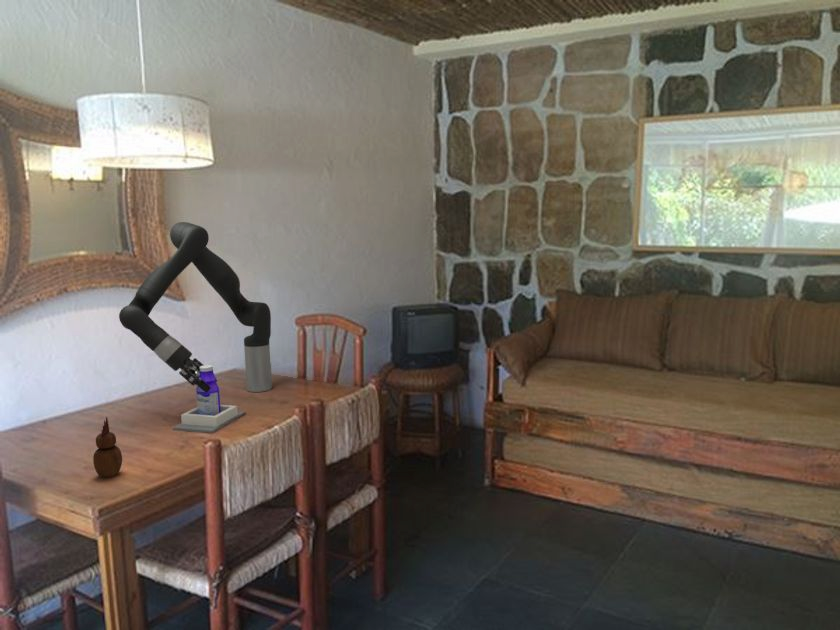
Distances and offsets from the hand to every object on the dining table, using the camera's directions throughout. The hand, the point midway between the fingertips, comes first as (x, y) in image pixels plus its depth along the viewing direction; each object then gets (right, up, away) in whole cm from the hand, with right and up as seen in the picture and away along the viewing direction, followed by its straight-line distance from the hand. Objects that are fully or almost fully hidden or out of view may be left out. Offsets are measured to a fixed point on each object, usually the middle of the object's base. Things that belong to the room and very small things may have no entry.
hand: (212, 386), depth 215 cm
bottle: (-1, -11, +2) cm, 11 cm away
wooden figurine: (-14, -19, -41) cm, 47 cm away
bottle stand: (-1, -11, +2) cm, 12 cm away
